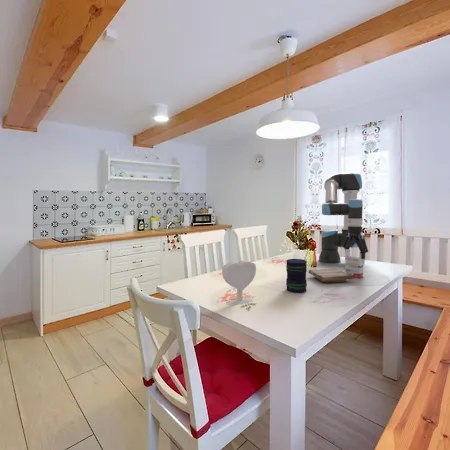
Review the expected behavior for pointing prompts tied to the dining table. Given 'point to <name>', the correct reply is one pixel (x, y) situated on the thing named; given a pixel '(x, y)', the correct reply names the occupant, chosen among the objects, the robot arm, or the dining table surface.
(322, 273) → the walnut stand
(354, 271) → the ink box
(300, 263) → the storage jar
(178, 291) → the dining table surface
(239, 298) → the heart sculpture
